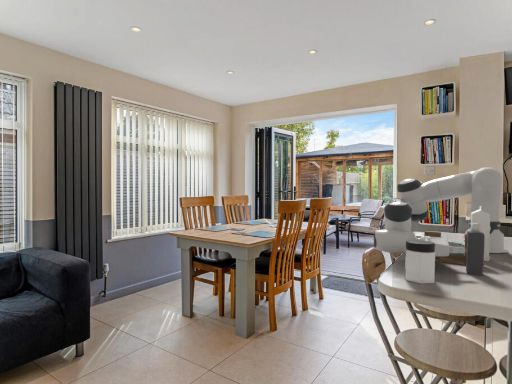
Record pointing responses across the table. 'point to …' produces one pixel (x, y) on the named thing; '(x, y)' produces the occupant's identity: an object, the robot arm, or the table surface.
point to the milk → (483, 228)
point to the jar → (420, 261)
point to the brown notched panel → (451, 258)
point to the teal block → (458, 253)
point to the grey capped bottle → (475, 250)
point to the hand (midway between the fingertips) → (463, 248)
